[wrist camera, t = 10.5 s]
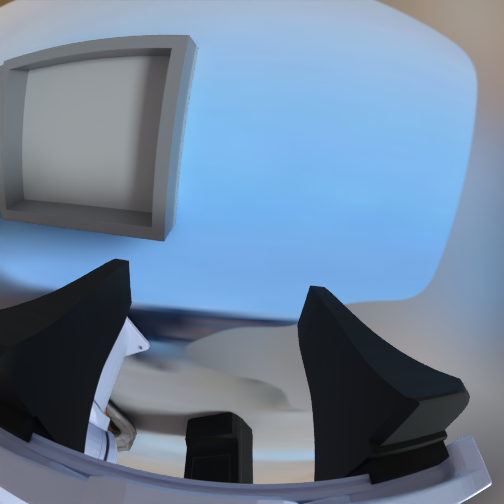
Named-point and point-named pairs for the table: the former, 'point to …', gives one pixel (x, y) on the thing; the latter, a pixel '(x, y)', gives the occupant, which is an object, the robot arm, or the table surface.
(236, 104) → the table surface
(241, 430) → the portable radio
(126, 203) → the case
